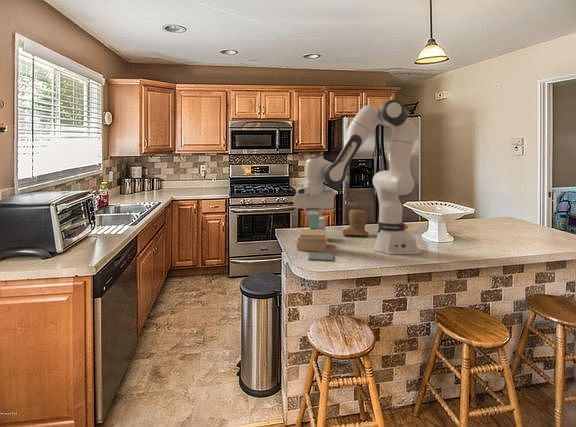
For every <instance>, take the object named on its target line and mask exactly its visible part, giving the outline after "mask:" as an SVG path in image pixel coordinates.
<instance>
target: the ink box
mask: <svg viewBox="0 0 576 427" xmlns="http://www.w3.org/2000/svg"><path fill="white" fill-rule="evenodd" d="M326 219H327V218H326V217H323V216H322V217H319V228H310V229H317V230H326V225H327V224H326V223H327V222H326V221H327V220H326Z"/></svg>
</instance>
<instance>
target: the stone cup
mask: <svg viewBox="0 0 576 427" xmlns="http://www.w3.org/2000/svg"><path fill="white" fill-rule="evenodd" d="M348 218H349V219H348V221H349V228H347V229H345V228H344V229H342V236H351V237H359V236H360V237H362V236H369V232H368V231H366V230H365V226H366V224H367V221H368V212H367V211H366V210H358V209H350V211H349V214H348Z"/></svg>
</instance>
